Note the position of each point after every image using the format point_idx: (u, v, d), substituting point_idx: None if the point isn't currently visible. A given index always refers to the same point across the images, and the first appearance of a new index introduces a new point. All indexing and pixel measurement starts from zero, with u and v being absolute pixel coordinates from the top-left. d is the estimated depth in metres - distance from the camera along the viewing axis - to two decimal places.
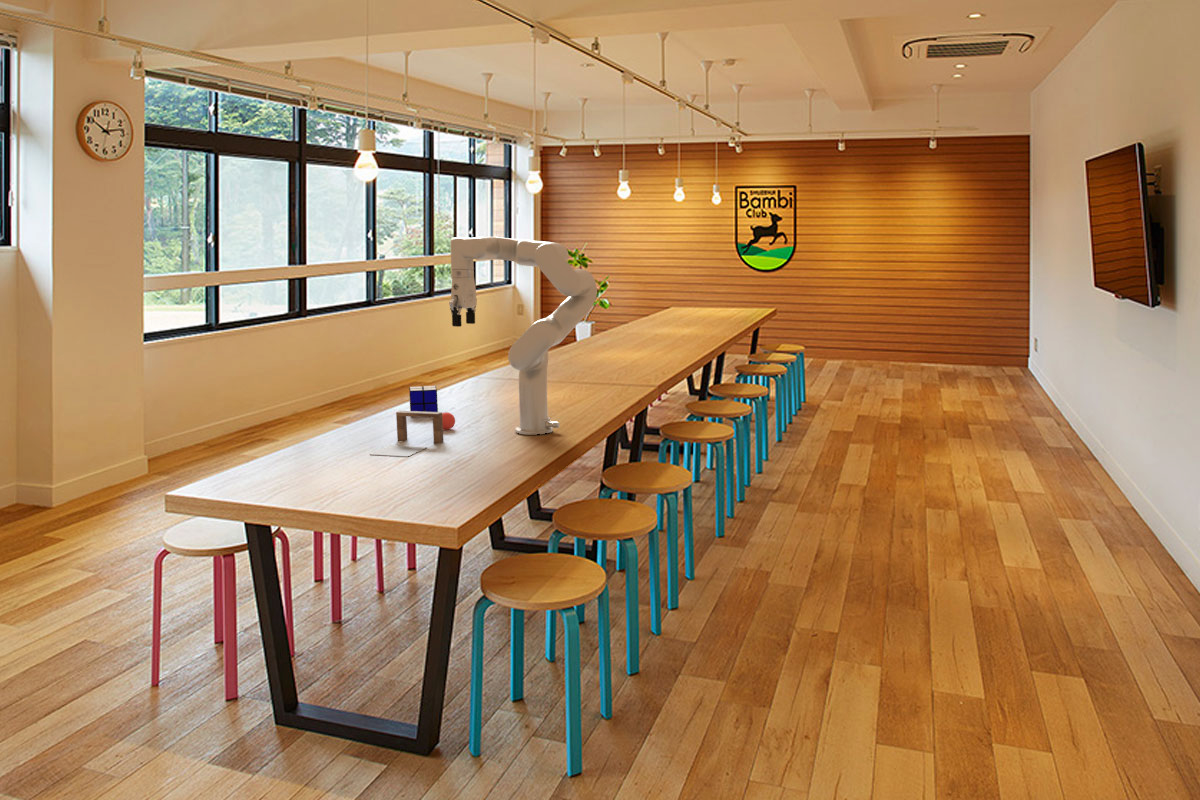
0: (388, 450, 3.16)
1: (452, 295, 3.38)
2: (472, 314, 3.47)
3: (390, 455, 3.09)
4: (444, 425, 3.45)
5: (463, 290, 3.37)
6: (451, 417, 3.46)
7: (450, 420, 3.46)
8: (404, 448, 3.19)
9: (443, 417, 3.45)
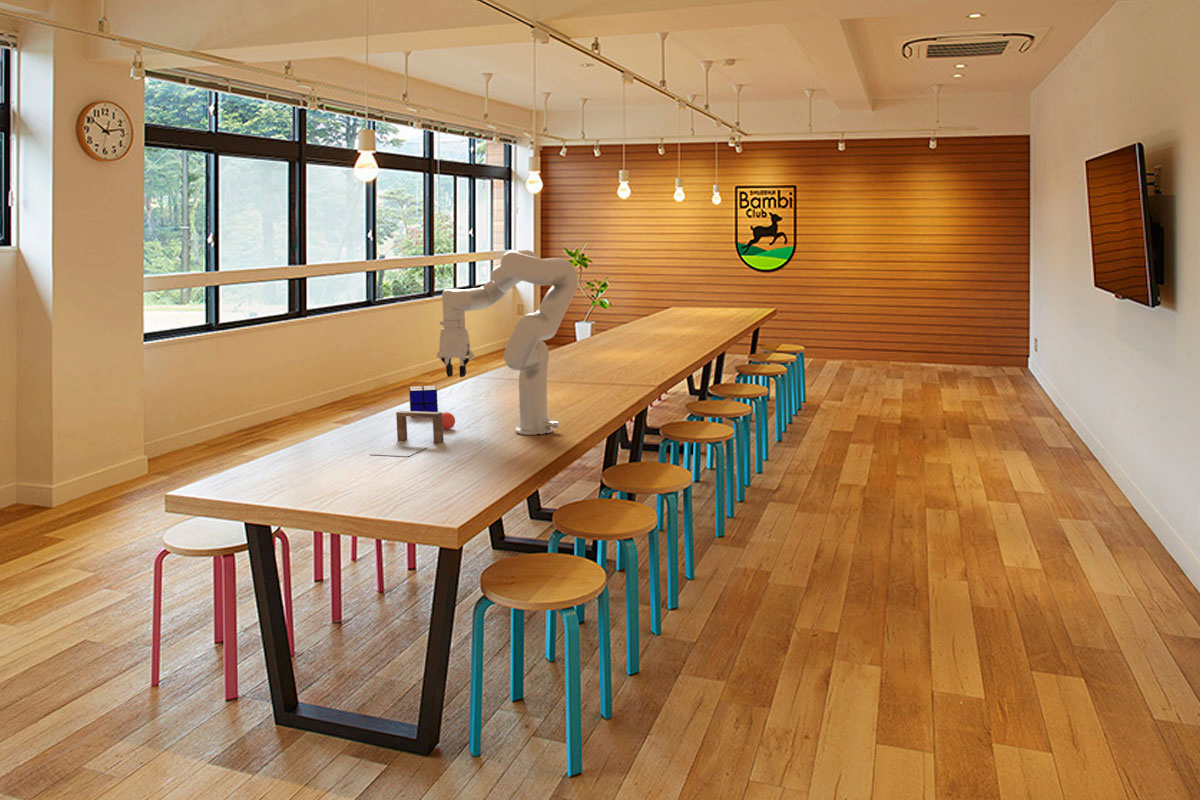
0: (388, 450, 3.16)
1: None
2: None
3: (390, 455, 3.09)
4: (444, 425, 3.45)
5: (440, 339, 3.51)
6: (451, 417, 3.46)
7: (450, 420, 3.46)
8: (404, 448, 3.19)
9: (443, 417, 3.45)
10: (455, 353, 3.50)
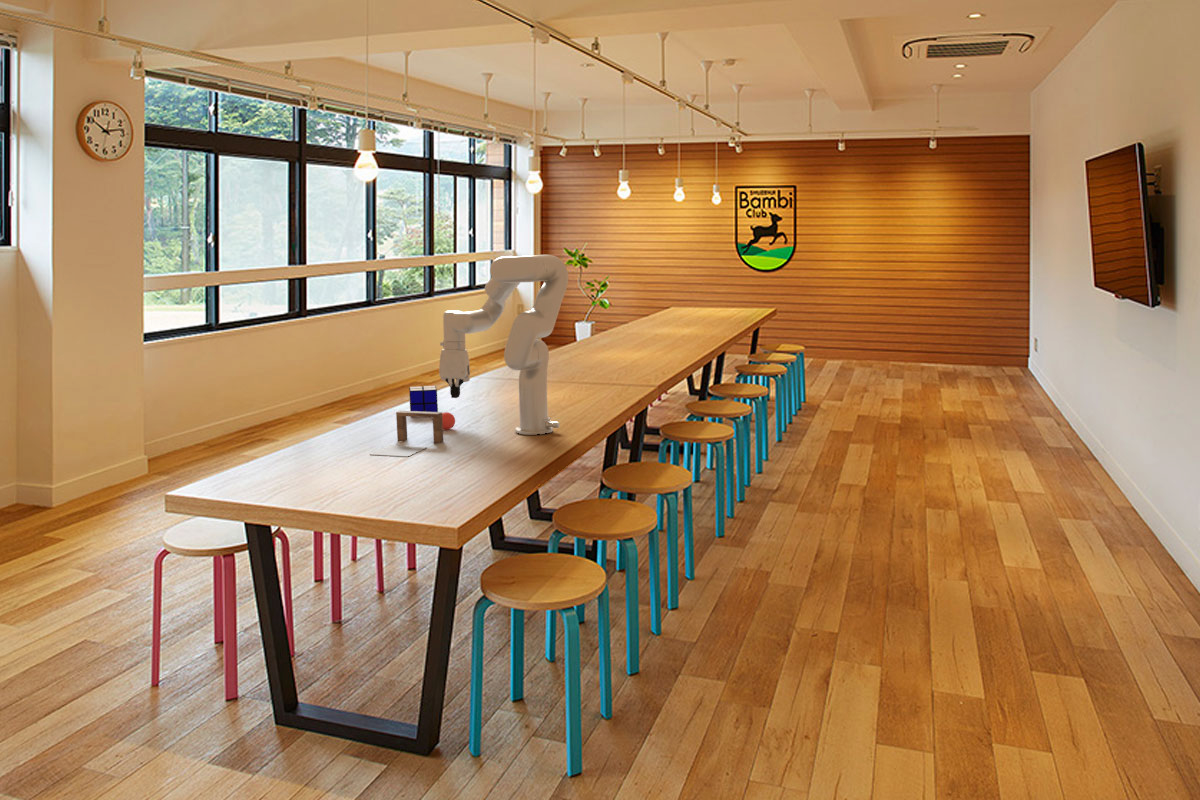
0: (388, 450, 3.16)
1: None
2: None
3: (390, 455, 3.09)
4: (444, 425, 3.45)
5: (440, 360, 3.52)
6: (451, 417, 3.46)
7: (450, 420, 3.46)
8: (404, 448, 3.19)
9: (443, 417, 3.45)
10: (455, 374, 3.51)
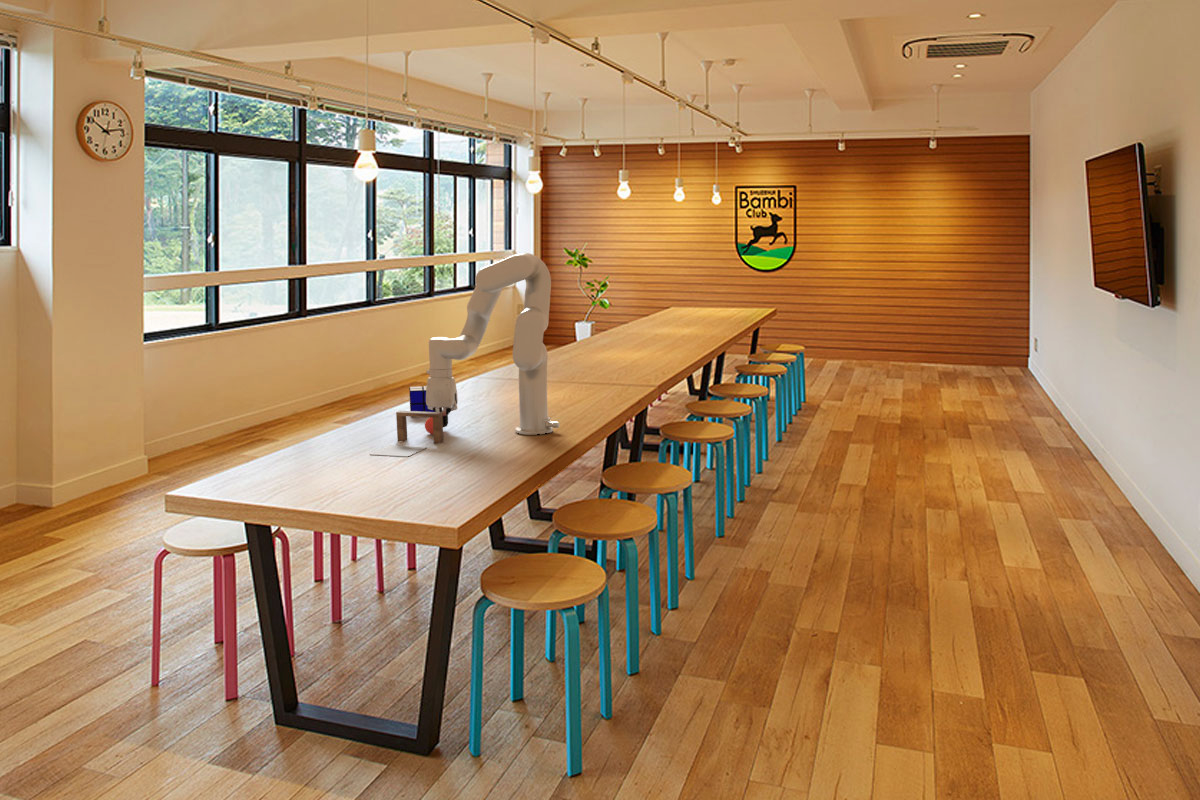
0: (388, 450, 3.16)
1: None
2: None
3: (390, 455, 3.09)
4: None
5: (426, 389, 3.43)
6: None
7: None
8: (404, 448, 3.19)
9: None
10: (442, 403, 3.41)
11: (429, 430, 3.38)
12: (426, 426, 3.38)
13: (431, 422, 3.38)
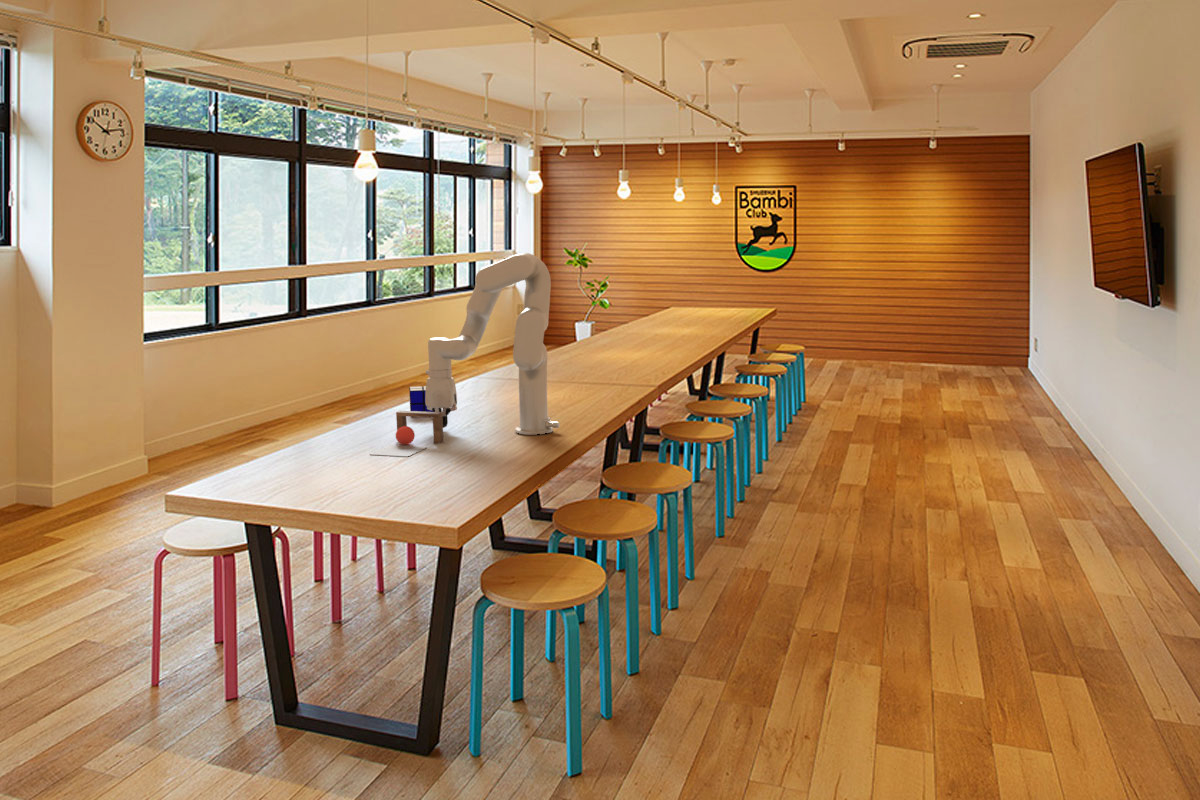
0: (388, 450, 3.16)
1: None
2: None
3: (390, 455, 3.09)
4: None
5: (426, 389, 3.42)
6: (409, 439, 3.23)
7: (412, 440, 3.24)
8: (404, 448, 3.19)
9: (405, 444, 3.24)
10: (441, 403, 3.41)
11: (399, 436, 3.22)
12: (397, 432, 3.23)
13: (404, 428, 3.23)
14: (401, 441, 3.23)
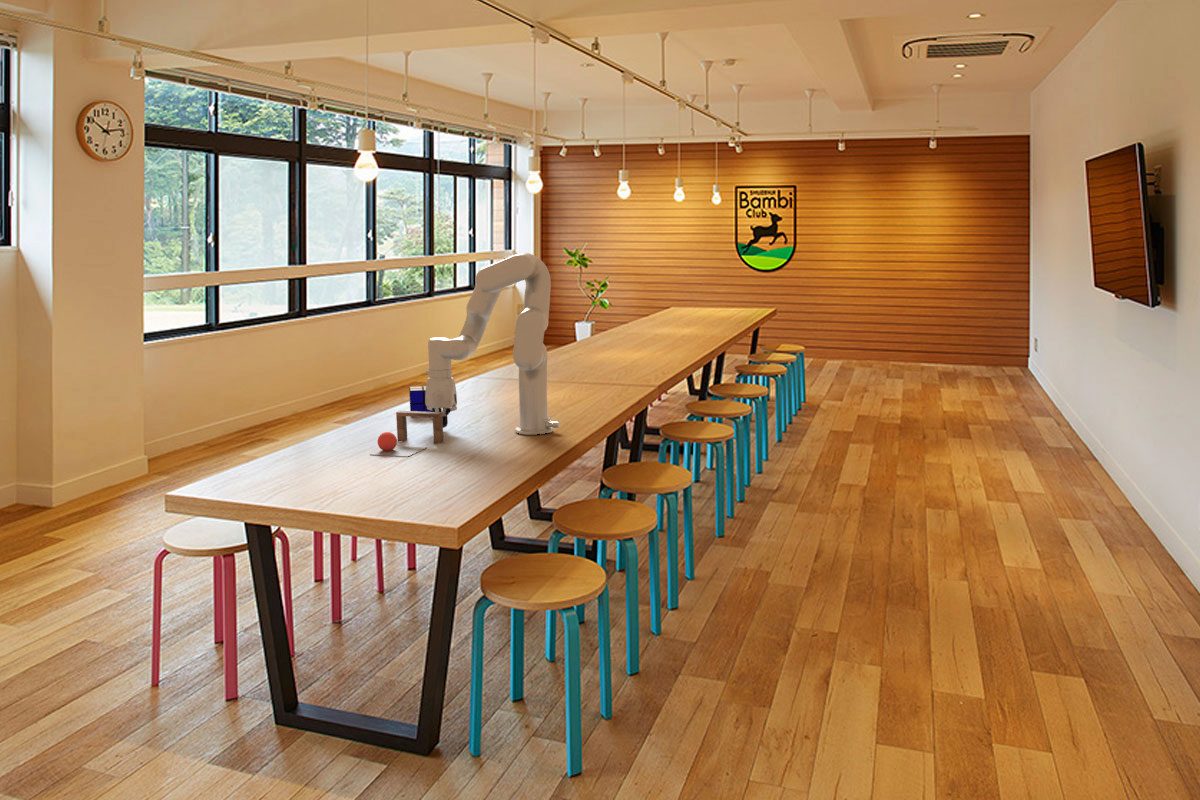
0: None
1: None
2: None
3: (390, 455, 3.09)
4: (385, 436, 3.13)
5: (426, 389, 3.42)
6: (395, 437, 3.15)
7: (393, 437, 3.14)
8: (404, 448, 3.19)
9: (388, 432, 3.15)
10: (441, 403, 3.41)
11: None
12: None
13: None
14: None
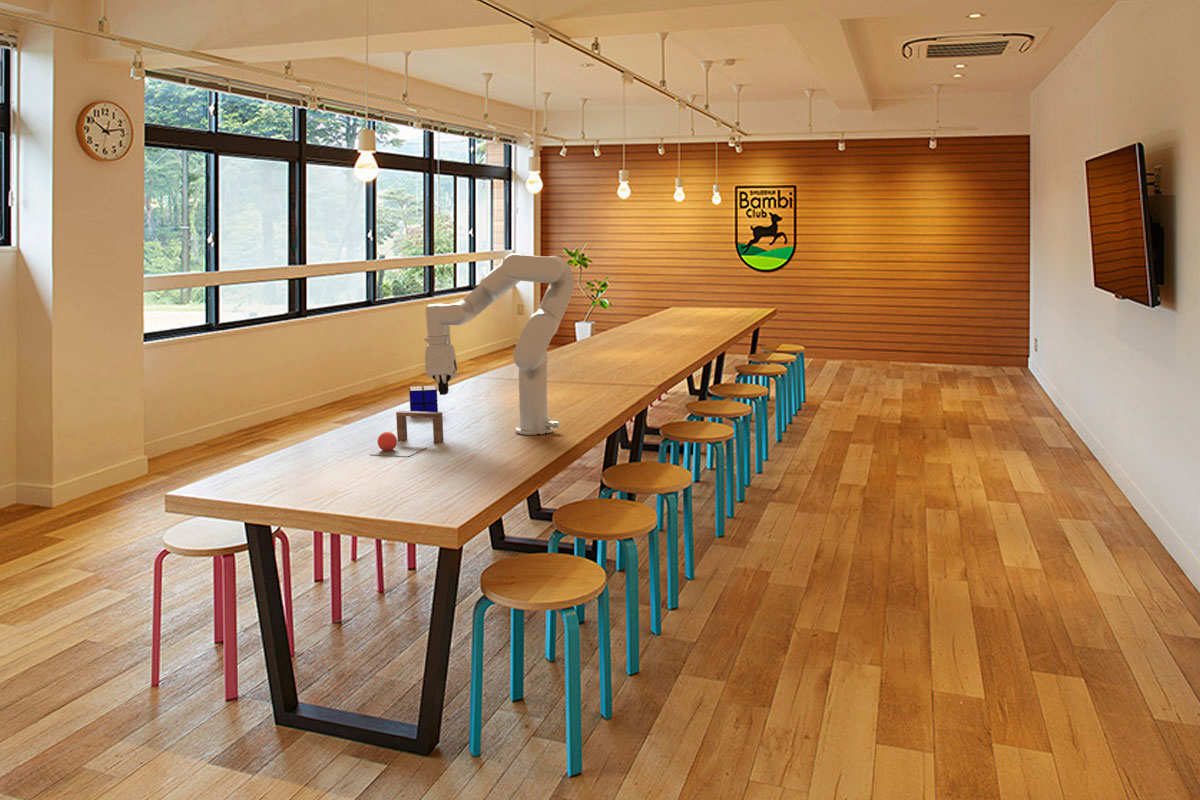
0: None
1: None
2: None
3: (390, 455, 3.09)
4: (385, 436, 3.13)
5: (425, 357, 3.40)
6: (395, 437, 3.15)
7: (393, 437, 3.14)
8: (404, 448, 3.19)
9: (388, 432, 3.15)
10: (441, 370, 3.39)
11: None
12: None
13: None
14: None
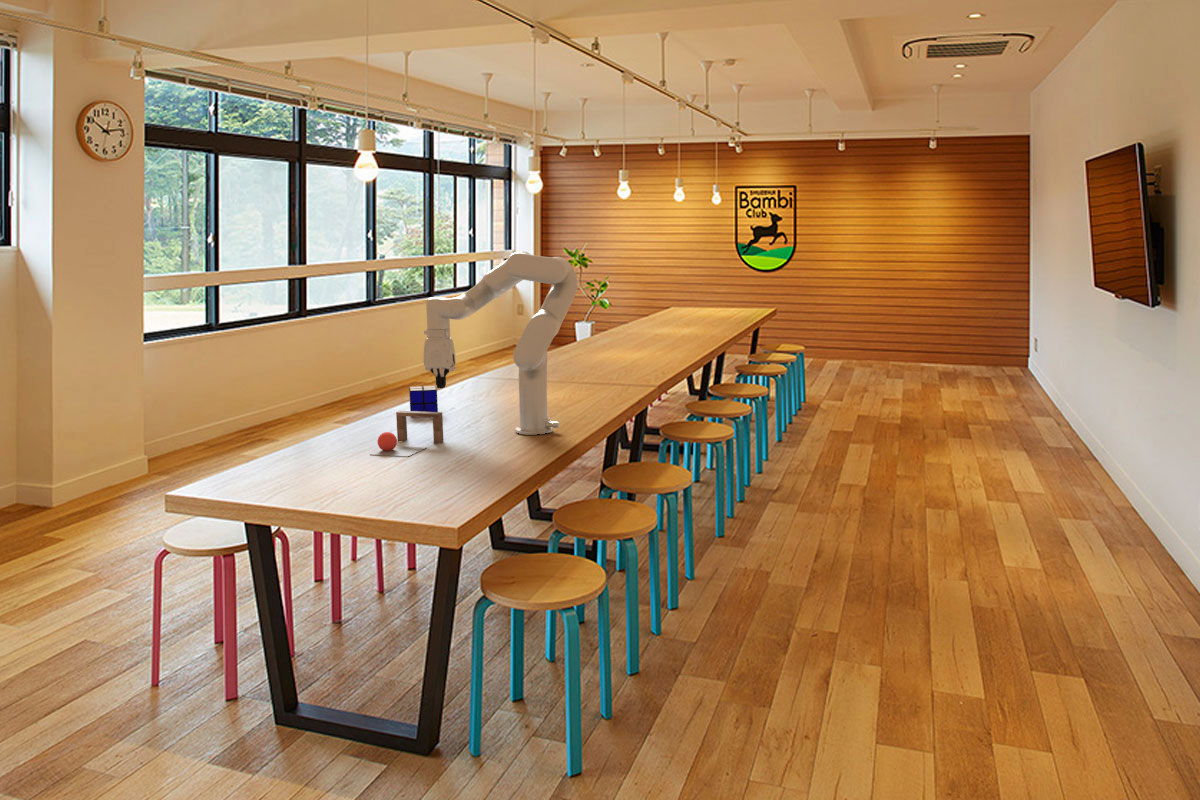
0: None
1: None
2: None
3: (390, 455, 3.09)
4: (385, 436, 3.13)
5: (424, 349, 3.40)
6: (395, 437, 3.15)
7: (393, 437, 3.14)
8: (404, 448, 3.19)
9: (388, 432, 3.15)
10: (440, 364, 3.38)
11: None
12: None
13: None
14: None
